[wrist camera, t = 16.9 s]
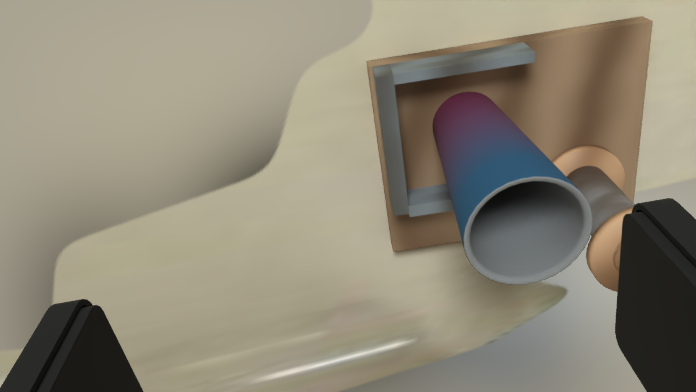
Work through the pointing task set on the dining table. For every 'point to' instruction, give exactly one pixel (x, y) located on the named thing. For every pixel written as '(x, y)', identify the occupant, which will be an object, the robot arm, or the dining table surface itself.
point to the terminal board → (520, 123)
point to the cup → (507, 194)
